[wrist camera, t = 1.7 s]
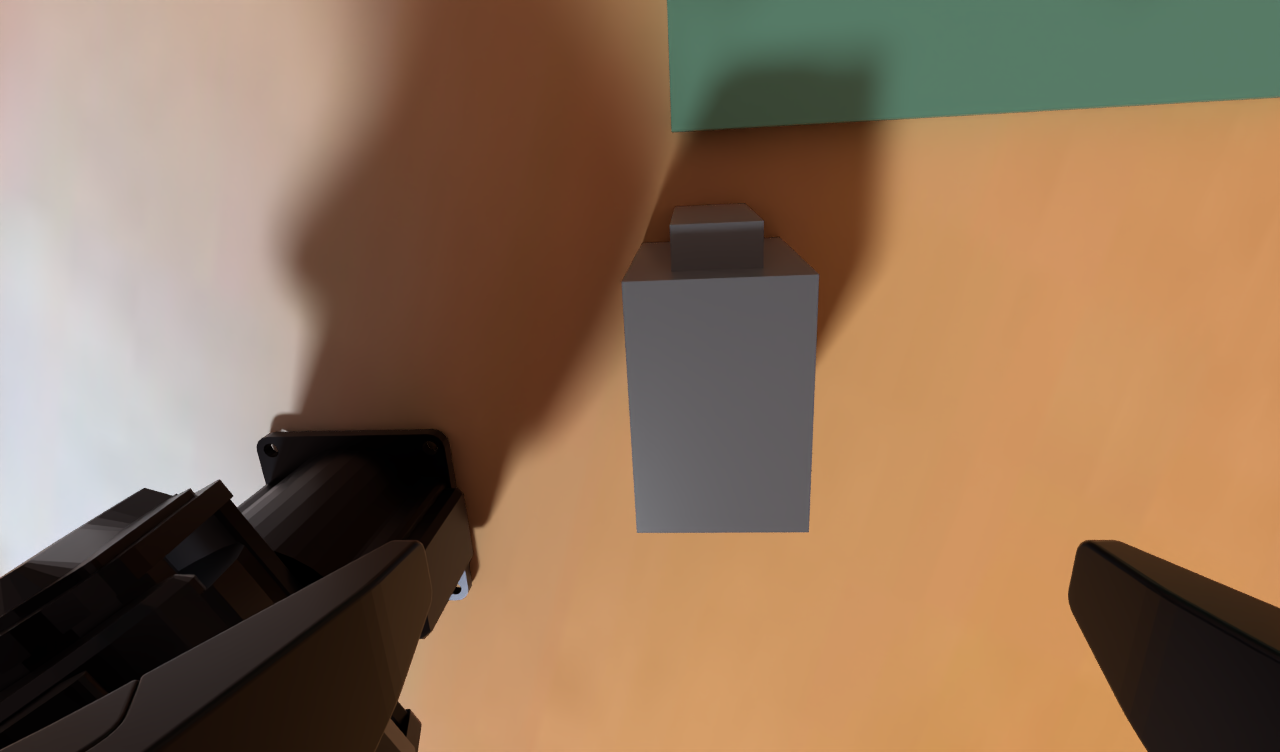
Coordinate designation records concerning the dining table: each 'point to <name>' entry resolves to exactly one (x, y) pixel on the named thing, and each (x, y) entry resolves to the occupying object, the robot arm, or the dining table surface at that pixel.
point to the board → (959, 57)
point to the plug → (720, 376)
